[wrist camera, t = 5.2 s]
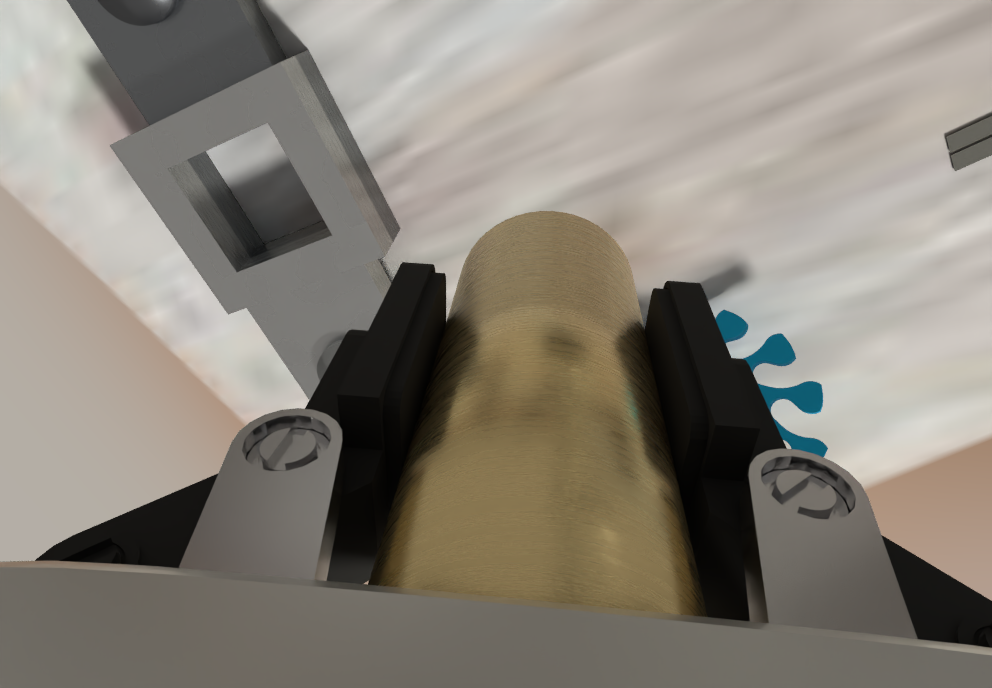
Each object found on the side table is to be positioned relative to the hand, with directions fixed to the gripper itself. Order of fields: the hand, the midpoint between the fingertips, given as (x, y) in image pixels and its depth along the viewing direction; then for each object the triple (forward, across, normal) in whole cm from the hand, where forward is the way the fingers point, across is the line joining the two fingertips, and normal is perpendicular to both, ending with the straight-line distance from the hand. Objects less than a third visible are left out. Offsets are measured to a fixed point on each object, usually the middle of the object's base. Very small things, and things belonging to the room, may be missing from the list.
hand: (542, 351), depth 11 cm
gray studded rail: (+17, +12, +3) cm, 21 cm away
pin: (+2, 0, 0) cm, 2 cm away
